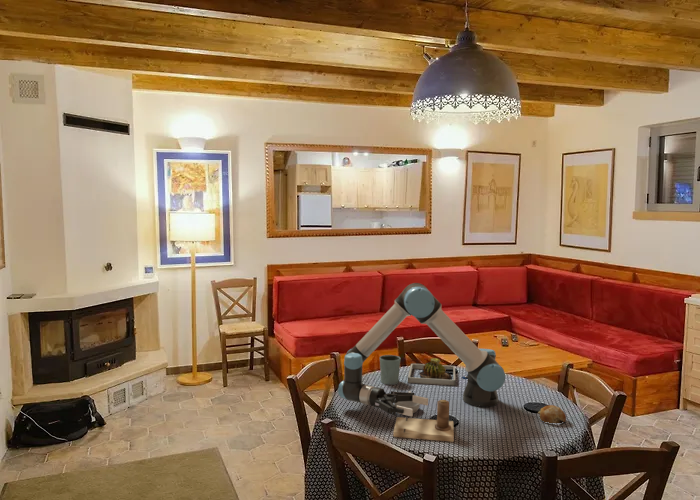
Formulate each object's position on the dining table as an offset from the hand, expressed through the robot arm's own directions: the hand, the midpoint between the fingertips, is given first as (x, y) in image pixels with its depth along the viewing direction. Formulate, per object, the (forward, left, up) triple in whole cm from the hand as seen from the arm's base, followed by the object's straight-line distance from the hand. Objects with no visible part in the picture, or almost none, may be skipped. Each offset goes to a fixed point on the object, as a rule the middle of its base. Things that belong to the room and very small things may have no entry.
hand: (420, 407), depth 212 cm
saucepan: (+6, -21, -8) cm, 23 cm away
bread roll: (-52, -17, -8) cm, 55 cm away
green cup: (+17, -52, -8) cm, 55 cm away
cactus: (-4, -64, -8) cm, 65 cm away
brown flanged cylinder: (-9, +4, -6) cm, 11 cm away
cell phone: (-25, -64, -9) cm, 69 cm away
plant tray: (-3, -64, -8) cm, 64 cm away
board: (-2, +4, -8) cm, 9 cm away
